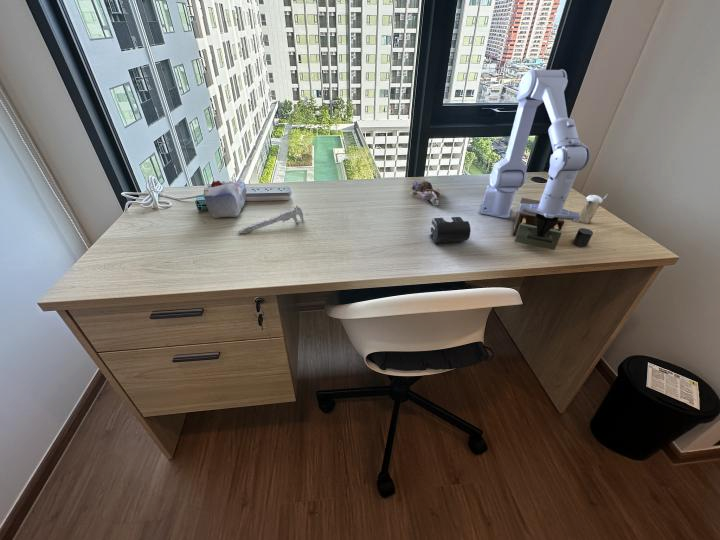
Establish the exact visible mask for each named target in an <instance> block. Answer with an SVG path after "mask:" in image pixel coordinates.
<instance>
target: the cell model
mask: <svg viewBox="0 0 720 540" xmlns="http://www.w3.org/2000/svg"><path fill="white" fill-rule="evenodd" d="M203 198H204V201H205V206H206V209H207V210H208V212H209V214H210V215H211V217H212V218H214V219H219V218H224V217H226V218H227V217H229V218H233V217H234V218H235V217H238V216H239V215H240V213H241V210H242V209H243V207H244V206H245V204H246V199H247V189H246V182H245V181H240V180H236V181H225V180H222V181H221V180H215V181H214V180H213V181H212V183H211V184H209V185H207V187H205V188H204V189H203Z"/></svg>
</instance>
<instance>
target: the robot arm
mask: <svg viewBox="0 0 720 540" xmlns="http://www.w3.org/2000/svg"><path fill="white" fill-rule="evenodd" d="M568 82H569V80H568V74H567V71H566V70H565V69H563V68H561V69H534V68H530V69H529V70H527V71H526V72H525V73H524V74H523V76H522V77H521V80H520V83H519V87H518V91H517V94H516V101H517V102H518V106H517V110H516V113H515V117H514V121H513V125H512V128H511V132H510V137H509V141H508V145H507V149H506V152H505V156H504V157H503V158H502V159H501V160H499V161H497V162H495V163H494V166H493V169H492V171H491V172H490V175H489V184H490V185H487V186H486V190H485V192H484V193H485V194H484V197H483V200H482V201H481V205H480V206H481V209H480V214H481V215H487V216H491V217H497V218H503V219H506V220H507V219H510V216H511V210H512V209H511V207H512V204H513V201H514V197H515V194H516V192H517V191H519V189H520V188H522V187H523V186H524V184H525V182H526V179H527V169H528V166H527V165H526V164H525V162H524V161H523V158H524V154H525V151H526V147H527V143H528V140H529V136H530V133H531V130H532V126H533V123H534V119H535V116H536V112H537V109H538V107H539V106H540V105H542V104H543V103H544V106H545V109H546V111H547V112H546V113H547V114H548V117H549V120H550V122H551V124H550V126H549V127H548V130H547V132H548V136H549V140H550V144H551V149H552V152H553V153H552V154H550V157H549V169H548V178H547V182H546V184H545V187H544V189H543V191H542V195H541V198H540V200H539V201H540V203H539V204H524V203H521V204H520V203H519V205H520V207H519V206H518V208H519V211H518V210H517V211H518V212H521V213H522V212H526V213H532V214H536V225H537V232H536V235H537V236H542V237H544V235H545V234H546V233H547V232H548V231H549V230H550V229H551V228H552V227H554V226H555V225H556V224H557V222H558V218H559V219H564V221H571V222H573V223H579V218H580V215H581V213H580V212H576V211H572V210H569V209H566V208H564V206H565V204H566V201H567V199H568V197H569V194H570V192H571V190H572V187H573V185H574V183H575V180H576V177H577V176H578V173H579V171H582V170H584V169H585V168H586V167H587V166H588V164H589V162H590V158H591V154H590V148H589V147H588V146H587V145H585V144H584V142H582V141H580V137H579V134H578V130H577V126H576V123H575V120H574V119H572V118H570V117H568V110H567V105H566V97H565V91H566V88H567V86H568Z"/></svg>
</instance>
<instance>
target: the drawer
mask: <svg viewBox="0 0 720 540" xmlns="http://www.w3.org/2000/svg"><path fill="white" fill-rule="evenodd" d="M536 232H537V225H536V219H533V218H528V217H523V216H522V218H521V221H520V224H519V229H518V232H517V235H516V236H515V238H514V243H519V244H522V245H526V246H527V245H528V246H533V247H537V248H542V249H546V250H550V251H551V250H552V251H555V249H556V247H557V245H558V243H559V240H560V238H561V236H562V233H563V232H562V230H561V231H558V223H557V224H556V225H555V226H554V227H552V228H551V229H550V230H549V231H548V232H547V233H546V234H545V235H544V237H542V236H537V235H536Z"/></svg>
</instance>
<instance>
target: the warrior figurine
mask: <svg viewBox="0 0 720 540" xmlns="http://www.w3.org/2000/svg"><path fill="white" fill-rule="evenodd" d="M411 187H412V190H416V191H412V190H410V195H412V197H414V196H417V195H418V196H419V197H420V198H422V199H423V200H427V201H430V203H432V205H433V206H438V205H439V202H440V200H439V199H440V198H441V196H442V194H441V192H440V188H439V187H438V188H437V189H436V190H435V189H433V185H432V183H431V182H429V181H426V180H425V179H423V180H422V181H421V182H417V180H413V181H412V184H411Z"/></svg>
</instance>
